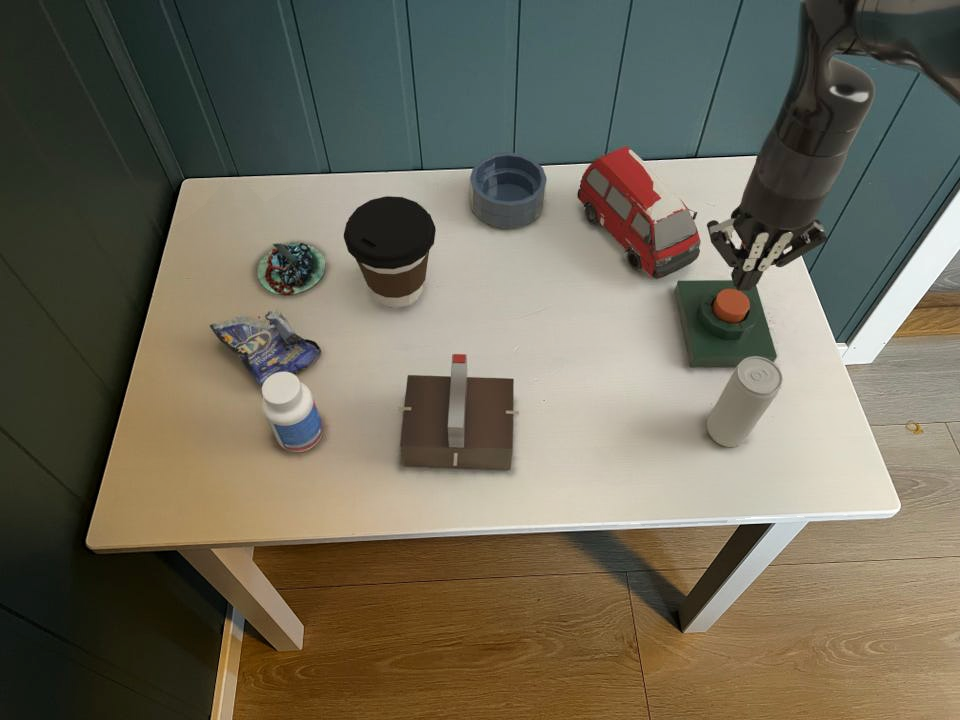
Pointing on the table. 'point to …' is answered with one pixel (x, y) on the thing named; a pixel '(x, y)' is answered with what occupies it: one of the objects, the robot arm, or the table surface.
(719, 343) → the green button base
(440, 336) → the table surface
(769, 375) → the beverage can
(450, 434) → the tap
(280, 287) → the dish
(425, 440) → the base
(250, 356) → the snack package
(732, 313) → the button
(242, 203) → the table surface
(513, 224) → the grey round pet bowl
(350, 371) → the table surface
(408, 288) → the coffee cup
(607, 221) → the toy car
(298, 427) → the pill bottle
